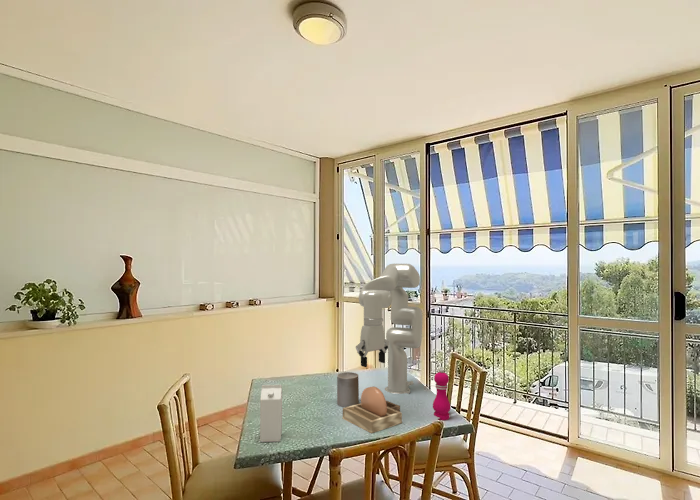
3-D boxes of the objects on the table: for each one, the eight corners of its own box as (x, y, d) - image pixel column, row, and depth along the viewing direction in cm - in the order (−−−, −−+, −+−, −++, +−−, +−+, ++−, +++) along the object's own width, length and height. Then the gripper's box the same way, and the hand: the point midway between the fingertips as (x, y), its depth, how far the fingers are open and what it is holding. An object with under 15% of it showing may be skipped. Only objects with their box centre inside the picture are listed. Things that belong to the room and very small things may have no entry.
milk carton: (262, 433, 148) (263, 382, 149) (281, 433, 149) (282, 381, 150) (259, 442, 141) (260, 388, 142) (280, 441, 142) (280, 387, 143)
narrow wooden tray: (375, 403, 181) (375, 395, 182) (400, 414, 169) (400, 405, 169) (365, 406, 178) (365, 398, 178) (390, 417, 165) (390, 408, 165)
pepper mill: (451, 415, 168) (451, 367, 168) (449, 421, 161) (449, 371, 161) (433, 413, 170) (433, 365, 171) (431, 419, 163) (431, 370, 164)
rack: (372, 411, 171) (372, 400, 171) (402, 425, 157) (402, 412, 157) (342, 420, 161) (342, 408, 161) (371, 436, 147) (371, 422, 147)
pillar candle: (354, 401, 184) (354, 368, 185) (361, 408, 175) (361, 374, 175) (334, 403, 181) (334, 370, 182) (340, 411, 172) (340, 376, 172)
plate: (364, 411, 165) (367, 381, 164) (385, 426, 155) (388, 394, 154) (359, 413, 164) (362, 382, 163) (380, 428, 153) (383, 395, 152)
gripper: (382, 319, 171) (382, 359, 171) (350, 323, 160) (350, 366, 160) (394, 321, 165) (394, 362, 165) (362, 325, 155) (362, 370, 154)
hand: (373, 364), depth 163 cm, fingers open, 9 cm apart
